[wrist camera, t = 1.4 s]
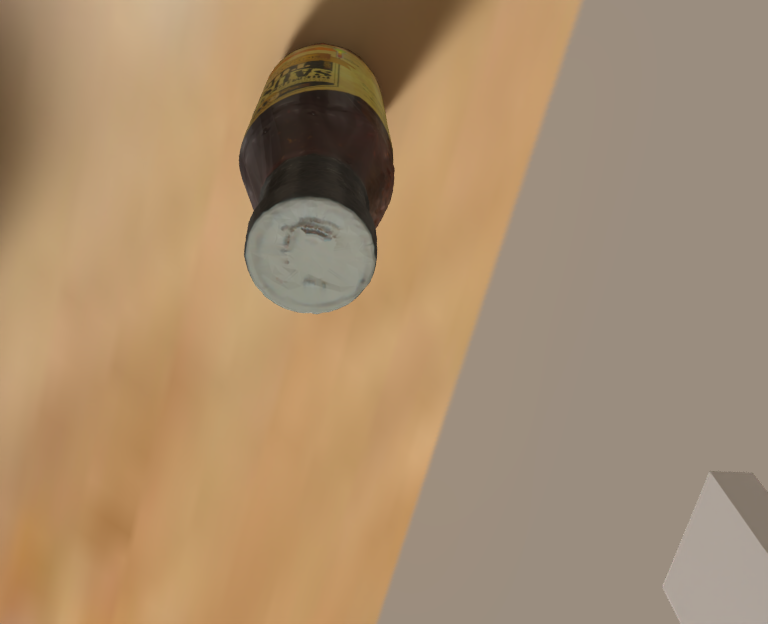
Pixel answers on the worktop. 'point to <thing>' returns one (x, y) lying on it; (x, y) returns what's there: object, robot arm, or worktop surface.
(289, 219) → the sauce bottle
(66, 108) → the worktop surface
